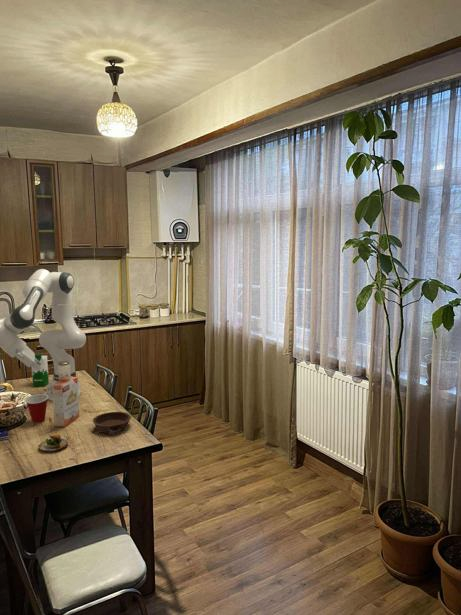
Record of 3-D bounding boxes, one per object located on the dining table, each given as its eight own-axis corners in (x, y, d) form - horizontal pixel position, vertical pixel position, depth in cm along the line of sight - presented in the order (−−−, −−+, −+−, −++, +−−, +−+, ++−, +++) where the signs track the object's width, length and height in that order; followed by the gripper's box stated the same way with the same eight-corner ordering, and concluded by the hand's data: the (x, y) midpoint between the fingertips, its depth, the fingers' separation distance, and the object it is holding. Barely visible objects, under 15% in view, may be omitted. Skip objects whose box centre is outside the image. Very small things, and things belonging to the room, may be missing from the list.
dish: (125, 417, 231) (125, 407, 230) (136, 433, 211) (136, 422, 211) (89, 423, 224) (89, 413, 223) (97, 440, 204) (97, 429, 203)
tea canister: (56, 380, 223) (55, 362, 221) (67, 378, 227) (66, 360, 225) (62, 382, 219) (61, 364, 218) (73, 380, 223) (72, 362, 222)
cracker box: (65, 427, 218) (62, 385, 215) (54, 426, 220) (51, 384, 217) (80, 416, 232) (78, 376, 229) (69, 415, 233) (67, 376, 230)
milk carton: (31, 387, 280) (28, 355, 277) (36, 383, 289) (34, 352, 286) (46, 387, 280) (43, 355, 277) (50, 382, 289) (48, 351, 286)
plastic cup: (22, 425, 222) (20, 401, 220) (32, 416, 232) (30, 394, 231) (44, 425, 221) (42, 401, 220) (53, 416, 232) (52, 394, 230)
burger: (34, 447, 197) (33, 431, 196) (60, 439, 206) (59, 423, 205) (45, 456, 189) (44, 439, 188) (73, 447, 197) (72, 431, 196)
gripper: (21, 347, 205) (45, 366, 210) (22, 339, 224) (44, 357, 228) (10, 357, 204) (35, 377, 208) (12, 349, 222) (35, 367, 227)
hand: (40, 367), depth 219 cm, fingers open, 8 cm apart
